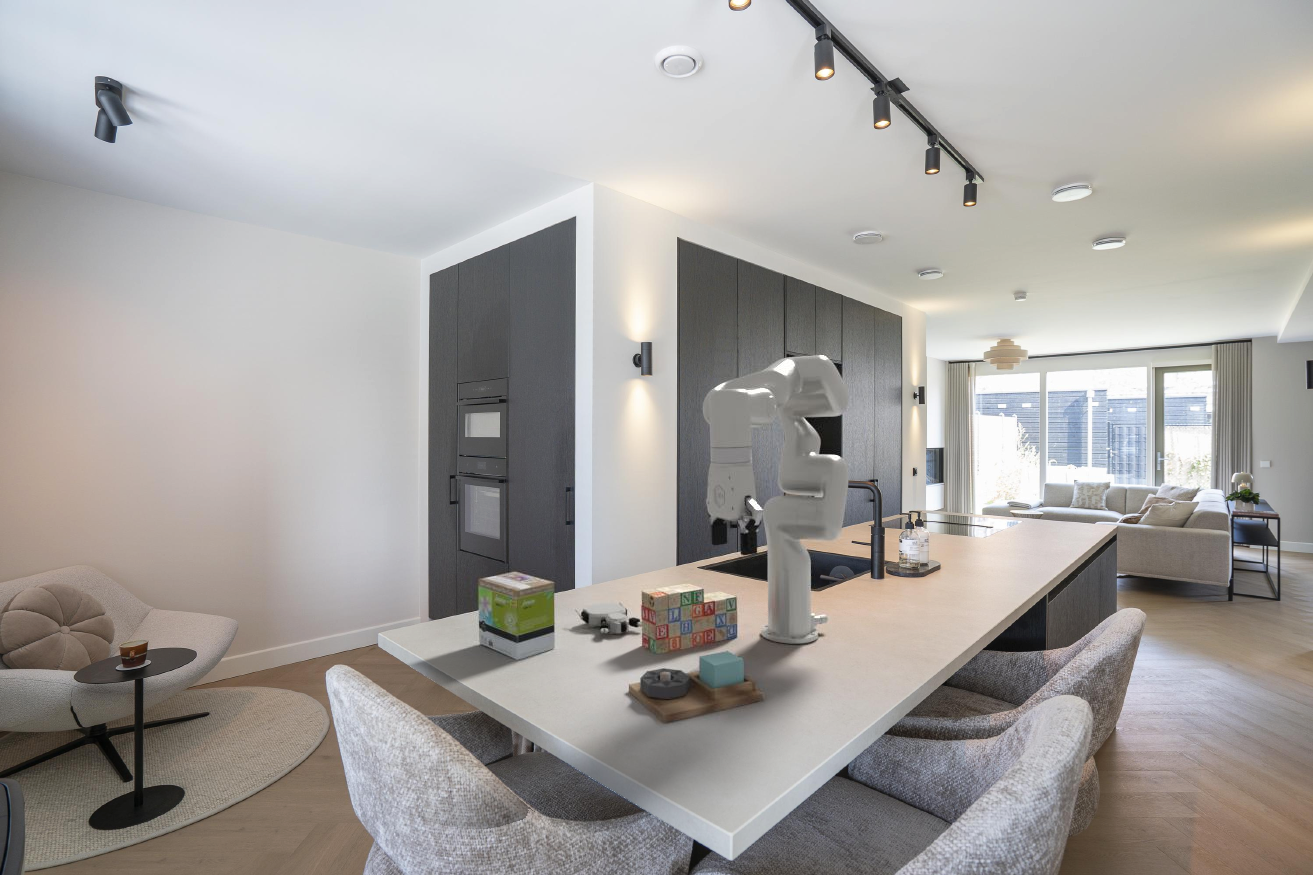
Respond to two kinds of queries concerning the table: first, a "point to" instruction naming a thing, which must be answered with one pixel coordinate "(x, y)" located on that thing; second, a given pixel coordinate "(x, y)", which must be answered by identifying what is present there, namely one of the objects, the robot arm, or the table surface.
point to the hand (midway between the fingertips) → (733, 549)
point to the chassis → (698, 698)
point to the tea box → (516, 614)
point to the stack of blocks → (686, 617)
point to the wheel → (665, 684)
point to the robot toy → (609, 617)
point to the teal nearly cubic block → (721, 669)
